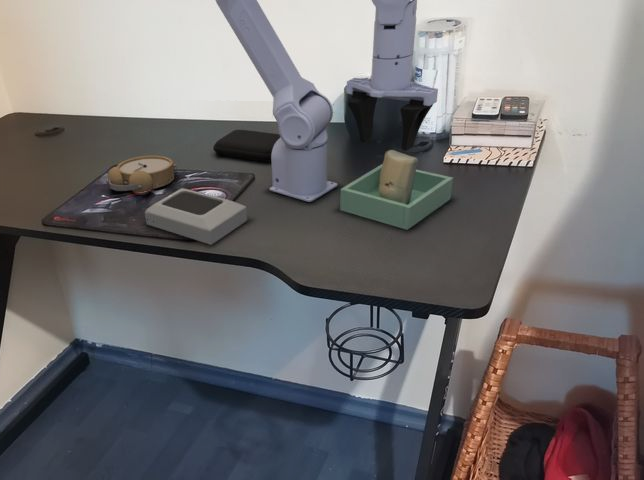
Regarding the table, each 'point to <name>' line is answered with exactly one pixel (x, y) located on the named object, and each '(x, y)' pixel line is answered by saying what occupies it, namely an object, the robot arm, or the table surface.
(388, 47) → the robot arm
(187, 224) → the grey box with screen
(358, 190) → the basin
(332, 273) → the table surface
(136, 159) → the alarm clock
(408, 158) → the beige lumpy block
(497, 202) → the table surface
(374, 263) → the table surface
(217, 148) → the carrying case
